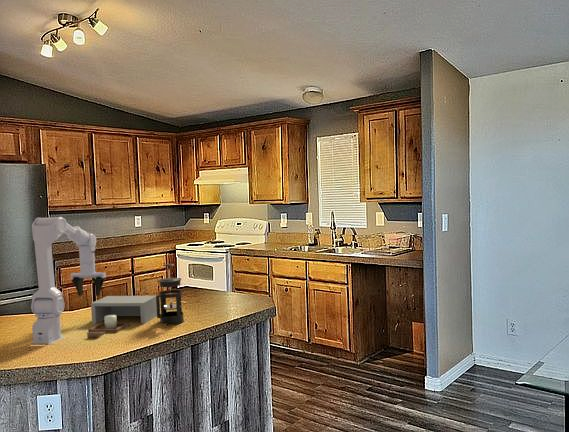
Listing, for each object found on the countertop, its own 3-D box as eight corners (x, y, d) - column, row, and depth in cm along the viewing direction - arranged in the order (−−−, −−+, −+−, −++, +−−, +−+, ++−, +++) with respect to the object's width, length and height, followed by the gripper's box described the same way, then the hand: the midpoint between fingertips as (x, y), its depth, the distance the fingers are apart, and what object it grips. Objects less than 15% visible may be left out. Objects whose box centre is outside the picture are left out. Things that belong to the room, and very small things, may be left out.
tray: (107, 340, 183) (106, 333, 183) (78, 339, 185) (78, 333, 185) (128, 327, 200) (128, 321, 200) (102, 327, 202) (101, 321, 201)
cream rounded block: (113, 329, 195) (113, 317, 194) (102, 329, 195) (102, 317, 195) (119, 326, 199) (118, 314, 199) (108, 326, 200) (107, 314, 200)
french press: (175, 317, 212) (172, 261, 210) (190, 320, 206) (187, 263, 204) (151, 324, 202) (148, 265, 201) (166, 327, 197) (163, 267, 195)
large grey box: (145, 325, 201) (143, 303, 201) (92, 325, 205) (90, 303, 204) (158, 316, 214) (157, 295, 214) (108, 316, 218) (107, 296, 217)
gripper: (108, 260, 215) (110, 293, 216) (76, 261, 217) (78, 293, 218) (100, 263, 208) (102, 296, 209) (66, 263, 210) (69, 297, 211)
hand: (89, 295), depth 213 cm, fingers open, 7 cm apart
